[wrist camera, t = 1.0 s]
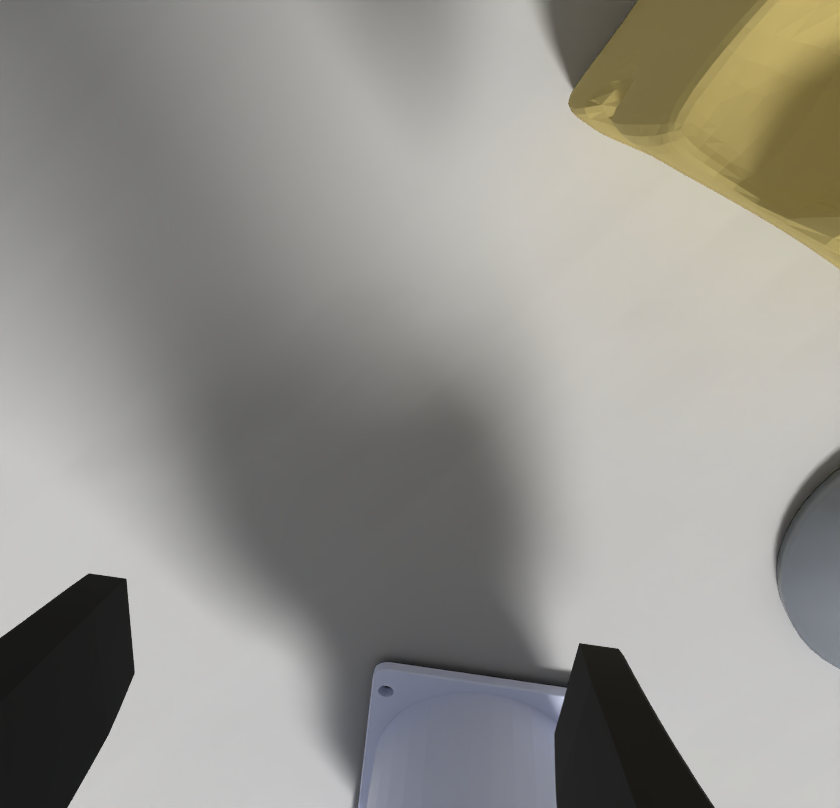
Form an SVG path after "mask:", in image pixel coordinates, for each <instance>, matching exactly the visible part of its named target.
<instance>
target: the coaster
mask: <svg viewBox="0 0 840 808" xmlns="http://www.w3.org/2000/svg"><path fill="white" fill-rule="evenodd" d="M777 584H778V589H779V594H780V598H781V601H782V603H783V606H784V609H785V611H786V613H787V615H788V617H789V619H790V621H791V623H792V625H793V626H794V628H795V629H796V631H797V633H798V634H799V636H800V637H801V639H802V640H803V641H804V642H805V643H806V644H807V645H808V647H809V648H810V649H811V650H813V651H814V652H815V653H816V654H817V655H819V656H820V657H821V658H822V659H824V660H825V661H827V662H829V663H830V664H832V665H834V666H835V667H837V668H839V669H840V469H838V470H837V471H836V472H834V473H833V474H832V475H831V476H830V477H828V478H827V479H826V480H825V481H824V482H823V483H822V484H821V485H820V486H819V487H817V489H816V490H815V491H814V492H813V493H812V494H811V495H810V496H809V498H808V499H807V500H806V501H805V502H804V503H803V505H802V506H801V508H800V509H799V511H798V512H797V514H796V515H795V517H794V518H793V520H792V522H791V524H790V526H789V528H788V530H787V532H786V534H785V536H784V539H783V542H782V545H781V548H780V551H779V557H778V564H777Z"/></svg>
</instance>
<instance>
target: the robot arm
mask: <svg viewBox="0 0 840 808" xmlns="http://www.w3.org/2000/svg"><path fill="white" fill-rule="evenodd" d="M134 673H135V671H134V660H133V649H132V638H131V626H130V615H129V604H128V593H127V581H126V579H124V578H117V577H110V576H103V575H96V574H87V575H86V576H85V577H83V578H82V579H80V580H79V581H78V582H76V583H75V584H73V585H72V586H71V587H69V588H68V589H66V590H65V591H64V592H62V593H61V594H60V595H58V596H57V597H56V598H54V599H53V600H51V601H50V602H49V603H47V604H46V605H45V606H43V607H42V608H41V609H39V610H38V611H37V612H35V613H34V614H33V615H31V616H30V617H28V618H27V619H26V620H24V621H23V622H22V623H20V624H19V625H18V626H16V627H15V628H13V629H12V630H11V631H9V632H8V633H7V634H5V635H4V636H2V637H1V638H0V808H67V807H68V805H69V804H70V802H71V800H72V799H73V797H74V795H75V793H76V792H77V790H78V788H79V786H80V785H81V783H82V781H83V779H84V778H85V776H86V774H87V772H88V770H89V769H90V767H91V765H92V763H93V762H94V760H95V758H96V756H97V754H98V753H99V751H100V749H101V747H102V746H103V744H104V742H105V740H106V738H107V736H108V735H109V732H110V730H111V728H112V725H113V723H114V721H115V719H116V716H117V714H118V712H119V710H120V707H121V705H122V702H123V700H124V698H125V695H126V693H127V690H128V688H129V685H130V683H131V681H132V678H133V676H134ZM383 686H388V687H391V688H385V687H383ZM358 808H715V807H714V806H713V804H712V803H711V801H710V800H709V798H708V797H707V795H706V794H705V792H704V791H703V789H702V788H701V786H700V785H699V783H698V782H697V780H696V779H695V777H694V775H693V774H692V772H691V771H690V769H689V767H688V766H687V764H686V763H685V761H684V760H683V758H682V756H681V755H680V753H679V752H678V750H677V748H676V747H675V745H674V744H673V742H672V740H671V739H670V737H669V735H668V734H667V732H666V730H665V729H664V727H663V725H662V724H661V722H660V720H659V718H658V717H657V715H656V713H655V711H654V710H653V708H652V706H651V705H650V703H649V701H648V699H647V697H646V696H645V694H644V692H643V690H642V689H641V687H640V685H639V683H638V681H637V679H636V678H635V676H634V674H633V672H632V670H631V668H630V667H629V665H628V663H627V661H626V659H625V657H624V656H623V654H622V653H621V652H620V650H619V649H616V648H609V647H602V646H595V645H588V644H581V643H579V646H578V650H577V654H576V657H575V661H574V664H573V668H572V672H571V675H570V679H569V682H568V686H567V688H565V687H558V686H551V685H544V684H537V683H530V682H523V681H517V680H510V679H503V678H496V677H489V676H482V675H475V674H468V673H461V672H454V671H447V670H441V669H434V668H427V667H420V666H413V665H406V664H399V663H392V662H383V663H380V664H378V665H377V666H376V667H375V669H374V673H373V679H372V687H371V696H370V705H369V714H368V723H367V732H366V740H365V749H364V758H363V767H362V776H361V785H360V793H359V802H358Z"/></svg>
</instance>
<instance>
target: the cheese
mask: <svg viewBox="0 0 840 808" xmlns="http://www.w3.org/2000/svg"><path fill="white" fill-rule="evenodd" d="M568 104H569V106H570V109H571V111H572V112H573V113H574V114H575V115H576V116H577V117H578V118H579V119H581V120H582V121H583V122H585V123H586V124H588V125H589V126H591V127H592V128H593V129H595V130H597V131H598V132H600V133H602V134H604V135H606V136H608V137H610V138H612V139H614V140H617V141H619V142H621V143H623V144H626V145H628V146H630V147H633V148H635V149H637V150H640V151H642V152H644V153H647V154H649V155H651V156H653V157H655V158H656V159H658V160H660V161H662V162H663V163H665V164H667V165H669V166H670V167H672V168H674V169H676V170H677V171H679V172H681V173H682V174H684V175H686V176H688V177H690V178H691V179H693V180H695V181H697V182H699V183H701V184H702V185H704V186H706V187H708V188H710V189H711V190H713V191H715V192H717V193H719V194H721V195H722V196H724V197H726V198H728V199H729V200H731V201H733V202H735V203H736V204H738V205H740V206H742V207H743V208H745V209H747V210H749V211H750V212H752V213H754V214H756V215H757V216H759V217H761V218H762V219H764V220H766V221H767V222H769V223H771V224H772V225H774V226H776V227H777V228H779V229H781V230H782V231H784V232H785V233H787V234H789V235H790V236H792V237H793V238H795V239H796V240H798V241H800V242H801V243H803V244H804V245H806V246H807V247H809V248H810V249H812V250H813V251H814V252H816V253H817V254H819V255H820V256H822V257H823V258H825V259H826V260H827V261H829V262H830V263H832V264H833V265H835V266H836V267H838V268H839V269H840V0H638V1H637V2H636V4H635V5H634V7H633V8H632V10H631V11H630V13H629V14H628V16H627V17H626V19H625V20H624V21H623V23H622V24H621V25H620V27H619V28H618V29H617V31H616V32H615V34H614V35H613V36H612V38H611V39H610V40H609V42H608V43H607V44H606V46H605V47H604V48H603V50H602V51H601V52H600V54H599V55H598V56H597V58H596V59H595V60H594V62H593V63H592V64H591V66H590V67H589V69H588V70H587V71H586V73H585V74H584V75H583V77H582V78H581V80H580V81H579V82H578V84H577V85H576V86H575V88H574V90H573V91H572V93H571V95H570V98H569V103H568Z"/></svg>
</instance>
